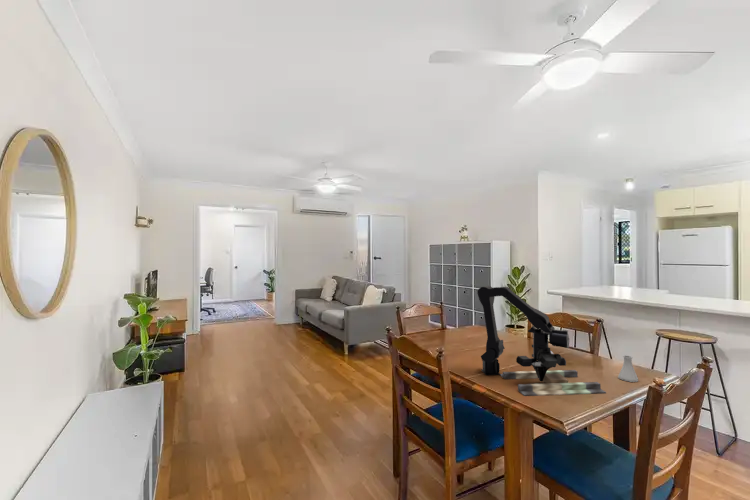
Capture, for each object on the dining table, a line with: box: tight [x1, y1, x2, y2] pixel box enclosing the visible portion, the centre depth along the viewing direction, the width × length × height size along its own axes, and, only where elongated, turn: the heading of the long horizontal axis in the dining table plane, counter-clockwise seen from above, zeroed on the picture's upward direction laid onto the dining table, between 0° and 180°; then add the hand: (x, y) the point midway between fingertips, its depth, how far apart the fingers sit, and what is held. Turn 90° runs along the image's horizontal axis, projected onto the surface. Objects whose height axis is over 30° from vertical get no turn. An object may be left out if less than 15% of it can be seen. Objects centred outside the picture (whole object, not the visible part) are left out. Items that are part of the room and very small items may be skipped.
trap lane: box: [499, 369, 607, 397], centre depth 143 cm, size 33×22×2 cm, turn 94°
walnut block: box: [542, 374, 569, 384], centre depth 141 cm, size 7×7×4 cm
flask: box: [617, 354, 639, 383], centre depth 148 cm, size 7×7×10 cm
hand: (540, 381), depth 143 cm, fingers closed
